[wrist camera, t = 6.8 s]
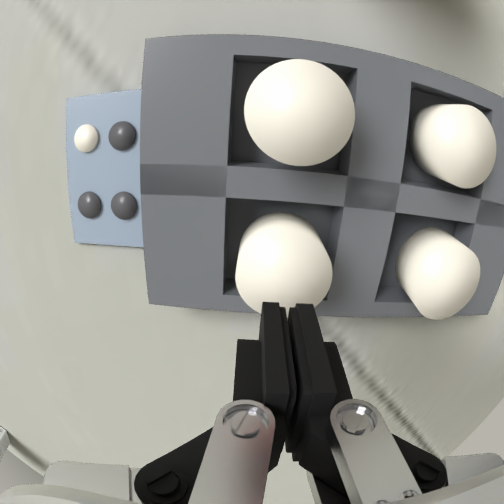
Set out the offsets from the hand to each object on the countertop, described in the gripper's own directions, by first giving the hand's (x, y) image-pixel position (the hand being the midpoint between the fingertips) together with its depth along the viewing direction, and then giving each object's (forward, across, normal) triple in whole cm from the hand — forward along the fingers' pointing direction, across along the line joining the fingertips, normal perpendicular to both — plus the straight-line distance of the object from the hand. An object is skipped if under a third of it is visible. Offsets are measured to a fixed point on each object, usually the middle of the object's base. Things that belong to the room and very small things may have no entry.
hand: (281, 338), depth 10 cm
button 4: (+7, -9, 0) cm, 12 cm away
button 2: (+7, 0, 0) cm, 7 cm away
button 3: (+8, -9, -7) cm, 14 cm away
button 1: (+7, 0, -7) cm, 10 cm away
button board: (+10, -2, -4) cm, 11 cm away
